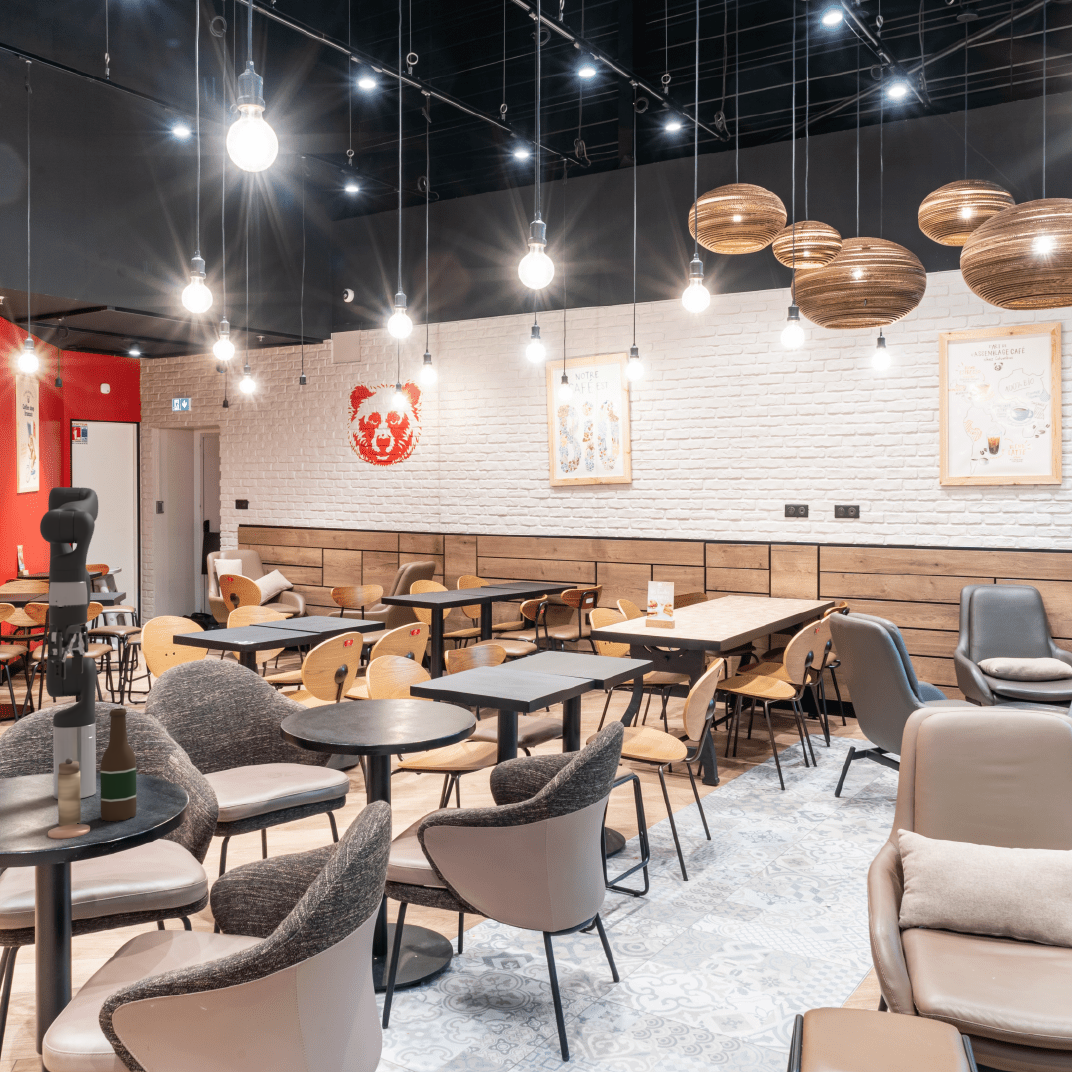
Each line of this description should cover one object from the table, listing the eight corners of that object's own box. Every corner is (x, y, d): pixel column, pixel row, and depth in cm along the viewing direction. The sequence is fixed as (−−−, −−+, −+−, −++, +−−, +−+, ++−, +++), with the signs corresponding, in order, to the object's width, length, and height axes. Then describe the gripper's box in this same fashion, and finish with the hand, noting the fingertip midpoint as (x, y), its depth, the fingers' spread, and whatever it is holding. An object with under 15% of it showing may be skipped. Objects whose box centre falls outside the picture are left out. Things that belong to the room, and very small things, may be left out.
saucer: (58, 827, 204) (58, 824, 204) (96, 826, 204) (96, 823, 204) (40, 839, 196) (40, 836, 196) (80, 838, 196) (80, 835, 196)
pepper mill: (64, 820, 209) (63, 755, 209) (84, 819, 209) (83, 755, 209) (54, 826, 205) (53, 760, 205) (75, 825, 205) (74, 760, 205)
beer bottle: (128, 822, 207) (127, 712, 207) (93, 822, 208) (92, 712, 208) (143, 811, 215) (142, 706, 215) (109, 811, 215) (109, 706, 215)
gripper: (65, 600, 214) (66, 672, 214) (34, 605, 200) (35, 682, 200) (99, 600, 214) (100, 671, 214) (71, 605, 200) (71, 681, 200)
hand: (68, 676), depth 207 cm, fingers open, 8 cm apart
